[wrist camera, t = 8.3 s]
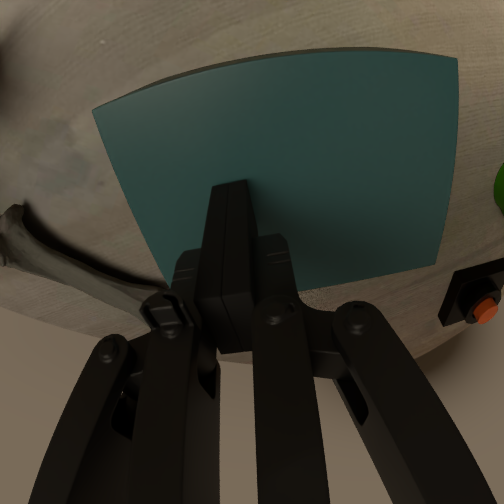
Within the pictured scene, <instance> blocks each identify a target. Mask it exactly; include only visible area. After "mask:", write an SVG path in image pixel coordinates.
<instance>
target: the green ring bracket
mask: <svg viewBox="0 0 504 504" xmlns="http://www.w3.org/2000/svg"><path fill="white" fill-rule="evenodd" d="M494 199H495V202H496V203H497V205H498V206H499V207H500V208H501V211H502V213H503V216H504V163H503V165H502V166H501V168H500V170H499V172H498V174H497V177H496V180H495V184H494Z"/></svg>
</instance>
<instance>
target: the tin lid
mask: <svg viewBox="0 0 504 504" xmlns="http://www.w3.org/2000/svg"><path fill="white" fill-rule="evenodd" d="M458 106H459V83H458V60H457V58H453V57H448V56H441V55H433V54H425V53H415V52H402V51H380V50H346V51H324V52H310V53H300V54H290V55H282V56H275V57H268V58H261V59H255V60H250V61H244V62H239V63H234V64H229V65H224V66H220V67H216V68H211V69H207V70H203V71H199V72H196V73H192V74H188V75H185V76H181V77H178V78H174V79H171V80H168V81H165V82H162V83H158V84H155V85H152V86H150V87H147V88H144V89H141V90H138V91H136V92H133V93H130V94H128V95H125V96H122V97H120V98H117V99H115V100H113V101H110V102H108V103H105V104H103V105H101V106H99V107H97V108H95V109H93V110H92V113H93V116H94V119H95V122H96V124H97V127H98V130H99V133H100V135H101V138H102V141H103V143H104V146H105V148H106V151H107V154H108V156H109V159H110V161H111V164H112V166H113V169H114V171H115V173H116V176H117V178H118V181H119V183H120V185H121V188H122V190H123V192H124V195H125V197H126V199H127V202H128V204H129V206H130V208H131V210H132V213H133V215H134V217H135V219H136V221H137V224H138V226H139V228H140V230H141V232H142V234H143V236H144V238H145V240H146V242H147V245H148V247H149V249H150V251H151V253H152V255H153V257H154V259H155V261H156V263H157V265H158V267H159V269H160V270H161V272H162V274H163V276H164V278H165V280H166V282H167V284H168V286H169V288H170V287H171V282H172V278H173V274H174V269H175V265H176V261H177V260H178V258H179V257H180V255H181V254H182V253H183V251H186V250H191V249H197V248H201V245H202V239H203V233H204V228H205V222H206V216H207V210H208V205H209V199H210V194H211V189H212V186H216V185H221V184H226V183H231V182H236V181H241V180H247V184H248V189H249V193H250V197H251V202H252V206H253V211H254V215H255V220H256V224H257V228H258V236H264V235H270V234H276V233H280V234H281V235H282V236H283V237H284V238H285V239H286V240H287V242H288V247H289V252H290V257H291V262H292V267H293V272H294V277H295V282H296V287H297V292H298V291H304V290H310V289H315V288H321V287H327V286H332V285H338V284H343V283H348V282H354V281H359V280H364V279H369V278H374V277H379V276H384V275H389V274H393V273H398V272H403V271H408V270H412V269H417V268H421V267H426V266H430V265H434V264H435V262H436V259H437V255H438V251H439V247H440V243H441V238H442V234H443V230H444V225H445V220H446V215H447V210H448V205H449V199H450V193H451V187H452V180H453V172H454V164H455V155H456V144H457V130H458Z"/></svg>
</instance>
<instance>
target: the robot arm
mask: <svg viewBox="0 0 504 504" xmlns="http://www.w3.org/2000/svg"><path fill="white" fill-rule="evenodd" d="M139 313H140V314H141V315H142V317H143V318H144V320H145V321H146V323H147V324H148V325H149V327H150V328H151V332H149V333H147V334H145V335H143V336H140V337H138V338H135V339H132V340H130V341H127V340H126V339H125V337H124V336H122V335H119V334H111V335H108V336H106V337H104V338H103V339H101V340H100V341H99V342H98V343H97V345H96V346H95V347H94V349H93V351H92V353H91V355H90V357H89V359H88V361H87V363H86V365H85V367H84V369H83V371H82V373H81V375H80V377H79V379H78V381H77V383H76V385H75V387H74V389H73V391H72V393H71V395H70V398H69V400H68V402H67V404H66V406H65V408H64V411H63V413H62V415H61V417H60V420H59V422H58V424H57V426H56V429H55V431H54V434H53V436H52V439H51V441H50V443H49V446H48V449H47V451H46V453H45V456H44V459H43V461H42V464H41V467H40V470H39V472H38V475H37V478H36V481H35V484H34V487H33V490H32V493H31V496H30V499H29V503H28V504H220V493H219V492H220V491H219V490H220V484H219V483H220V479H219V439H220V436H219V435H220V433H219V432H220V374H221V370H220V365H219V363H218V361H217V359H216V353H217V348H218V350H219V351H220V353H221V354H229V353H238V352H247V351H252V355H253V381H254V382H253V383H254V410H255V435H256V436H255V437H256V462H257V487H258V504H330V498H329V487H328V480H327V471H326V463H325V455H324V447H323V439H322V432H321V424H320V418H319V411H318V404H317V398H316V391H315V384H314V378H313V377H320V378H329V379H332V380H333V382H334V384H335V386H336V388H337V390H338V392H339V394H340V396H341V398H342V400H343V401H344V404H345V406H346V408H347V410H348V412H349V414H350V416H351V418H352V420H353V422H354V424H355V426H356V428H357V430H358V432H359V434H360V436H361V438H362V440H363V442H364V444H365V446H366V448H367V451H368V453H369V455H370V456H371V459H372V461H373V463H374V465H375V467H376V469H377V471H378V473H379V475H380V477H381V479H382V482H383V484H384V486H385V488H386V490H387V492H388V494H389V496H390V498H391V500H392V503H393V504H497V502H496V500H495V498H494V496H493V494H492V492H491V490H490V488H489V486H488V484H487V482H486V480H485V478H484V476H483V474H482V472H481V470H480V468H479V466H478V465H477V462H476V460H475V459H474V457H473V455H472V453H471V451H470V450H469V448H468V446H467V444H466V442H465V441H464V439H463V437H462V435H461V434H460V432H459V430H458V428H457V427H456V425H455V423H454V422H453V420H452V418H451V417H450V415H449V413H448V412H447V410H446V409H445V407H444V405H443V404H442V402H441V400H440V399H439V397H438V396H437V394H436V392H435V391H434V389H433V388H432V386H431V385H430V383H429V382H428V380H427V378H426V377H425V375H424V374H423V372H422V371H421V369H420V368H419V366H418V365H417V363H416V362H415V360H414V359H413V357H412V356H411V354H410V353H409V351H408V350H407V348H406V347H405V346H404V344H403V343H402V341H401V340H400V338H399V337H398V336H397V334H396V333H395V331H394V330H393V328H392V327H391V326H390V324H389V323H388V321H387V320H386V319H385V317H384V316H383V315H382V313H381V312H380V311H379V310H378V309H377V308H376V307H375V306H374V305H372V304H370V303H367V302H365V301H352V302H347V303H345V304H343V305H342V306H340V307H338V308H337V310H336V311H335V312H332V311H322V310H316V309H313V308H311V307H309V306H307V305H306V304H304V303H303V302H302V300H301V299H300V298H299V295H298V292H297V287H296V282H295V277H294V272H293V267H292V262H291V257H290V252H289V247H288V242H287V240H286V239H285V238H284V237H283V236H282V235H281V234H280V233H276V234H270V235H264V236H258V228H257V224H256V220H255V215H254V211H253V206H252V202H251V197H250V193H249V189H248V184H247V180H241V181H236V182H231V183H226V184H221V185H216V186H212V189H211V194H210V199H209V205H208V210H207V216H206V222H205V228H204V233H203V239H202V245H201V248H197V249H191V250H186V251H183V253H182V254H181V255H180V257H179V258H178V260H177V261H176V265H175V269H174V274H173V278H172V282H171V287H170V290H163V291H159V292H156V293H154V294H153V295H151V296H149V297H148V298H147V299H146V300H145V301H144V302H143V303H142V305H141V307H140V309H139ZM122 391H123V393H122ZM121 394H122V395H121Z"/></svg>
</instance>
